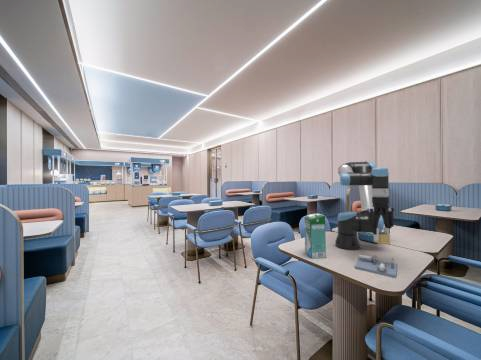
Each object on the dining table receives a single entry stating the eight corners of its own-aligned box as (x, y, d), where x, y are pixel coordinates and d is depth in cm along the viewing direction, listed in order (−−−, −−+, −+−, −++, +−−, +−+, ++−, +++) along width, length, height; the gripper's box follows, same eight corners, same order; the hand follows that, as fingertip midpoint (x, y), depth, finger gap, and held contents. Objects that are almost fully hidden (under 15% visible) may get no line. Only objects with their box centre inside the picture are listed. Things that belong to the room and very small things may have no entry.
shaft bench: (354, 268, 106) (354, 259, 106) (360, 258, 118) (360, 251, 118) (395, 278, 95) (395, 268, 95) (397, 266, 108) (397, 257, 108)
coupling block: (380, 244, 106) (380, 233, 106) (373, 241, 111) (373, 231, 111) (389, 244, 106) (389, 233, 107) (382, 241, 111) (382, 231, 111)
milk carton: (305, 253, 129) (304, 213, 129) (318, 252, 130) (318, 213, 130) (311, 258, 120) (310, 216, 120) (325, 257, 121) (325, 215, 121)
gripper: (369, 197, 105) (370, 242, 104) (402, 196, 106) (403, 241, 106) (359, 196, 112) (360, 239, 112) (390, 195, 114) (391, 237, 113)
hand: (381, 240), depth 109 cm, fingers closed on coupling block, 5 cm apart
